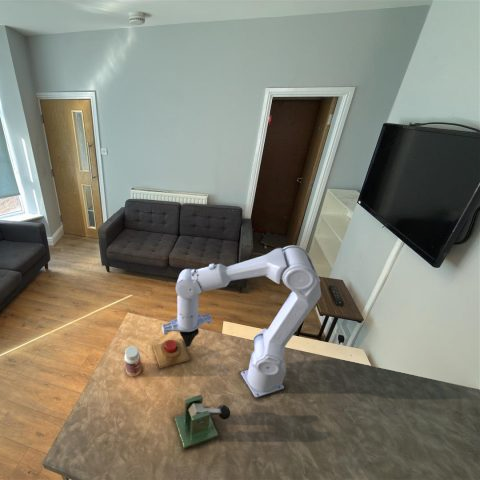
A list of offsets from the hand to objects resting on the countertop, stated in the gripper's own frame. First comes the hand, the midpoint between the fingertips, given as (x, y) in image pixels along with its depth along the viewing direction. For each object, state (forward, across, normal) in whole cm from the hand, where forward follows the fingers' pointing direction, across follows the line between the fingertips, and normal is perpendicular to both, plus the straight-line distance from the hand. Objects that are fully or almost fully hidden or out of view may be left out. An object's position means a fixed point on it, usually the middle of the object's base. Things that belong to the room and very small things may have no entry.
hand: (186, 344), depth 78 cm
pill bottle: (+10, +16, -4) cm, 19 cm away
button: (+7, +3, -6) cm, 10 cm away
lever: (+6, +1, +17) cm, 18 cm away
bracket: (+10, +4, +17) cm, 20 cm away
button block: (+10, +3, -6) cm, 12 cm away
